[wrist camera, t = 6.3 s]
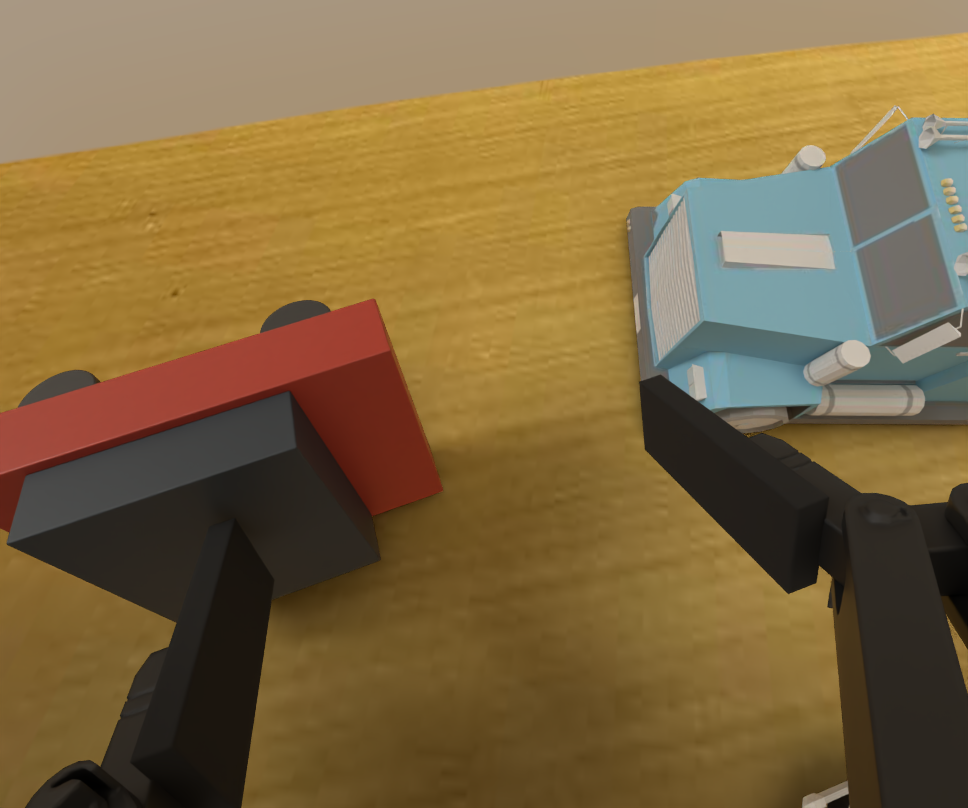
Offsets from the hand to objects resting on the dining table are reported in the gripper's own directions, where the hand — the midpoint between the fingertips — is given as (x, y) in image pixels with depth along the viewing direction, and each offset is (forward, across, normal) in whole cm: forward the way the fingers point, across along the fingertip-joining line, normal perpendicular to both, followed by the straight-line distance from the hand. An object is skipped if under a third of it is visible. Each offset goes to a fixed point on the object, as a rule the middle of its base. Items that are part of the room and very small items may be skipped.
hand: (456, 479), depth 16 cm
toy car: (+6, -7, -4) cm, 10 cm away
